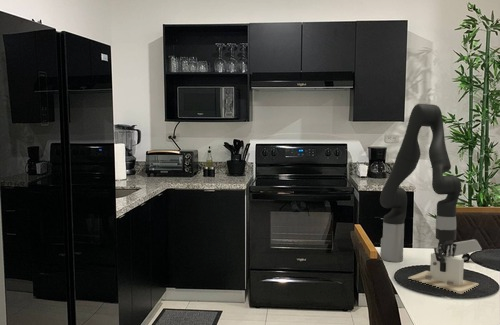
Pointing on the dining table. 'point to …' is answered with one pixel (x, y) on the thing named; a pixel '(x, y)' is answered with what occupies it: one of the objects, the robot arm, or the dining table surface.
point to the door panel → (447, 270)
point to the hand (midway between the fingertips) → (445, 270)
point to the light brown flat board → (443, 283)
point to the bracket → (467, 248)
